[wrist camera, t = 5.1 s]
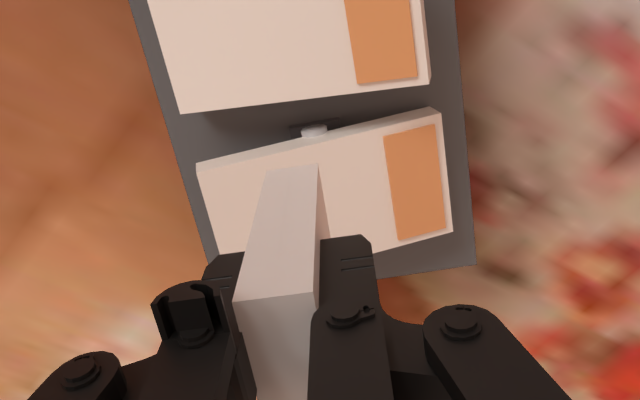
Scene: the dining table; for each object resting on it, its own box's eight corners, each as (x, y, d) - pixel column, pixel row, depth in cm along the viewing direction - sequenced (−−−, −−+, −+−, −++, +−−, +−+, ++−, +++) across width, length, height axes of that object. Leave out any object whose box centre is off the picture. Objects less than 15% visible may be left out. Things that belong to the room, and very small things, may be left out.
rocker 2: (229, 273, 29) (232, 297, 26) (194, 153, 26) (195, 169, 24) (435, 217, 30) (454, 236, 28) (422, 98, 27) (442, 109, 25)
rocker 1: (201, 104, 28) (179, 119, 26) (163, -37, 25) (135, -33, 23) (433, 75, 24) (429, 90, 22) (416, -90, 22) (409, -91, 20)
